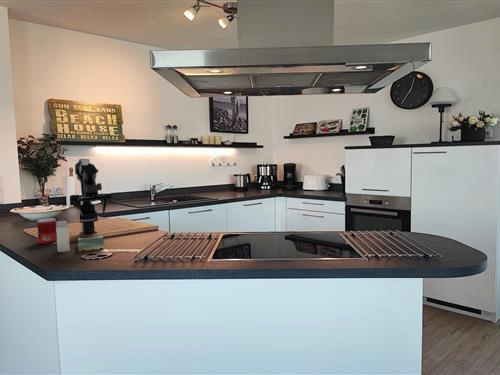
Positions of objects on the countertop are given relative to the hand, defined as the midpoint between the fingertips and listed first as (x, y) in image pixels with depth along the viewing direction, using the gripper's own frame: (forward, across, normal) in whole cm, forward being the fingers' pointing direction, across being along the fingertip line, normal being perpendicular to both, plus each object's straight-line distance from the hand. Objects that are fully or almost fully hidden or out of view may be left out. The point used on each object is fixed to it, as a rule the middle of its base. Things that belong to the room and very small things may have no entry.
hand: (93, 214), depth 174 cm
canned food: (+1, -19, +23) cm, 30 cm away
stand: (+14, -2, +5) cm, 15 cm away
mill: (+14, -13, +6) cm, 20 cm away
